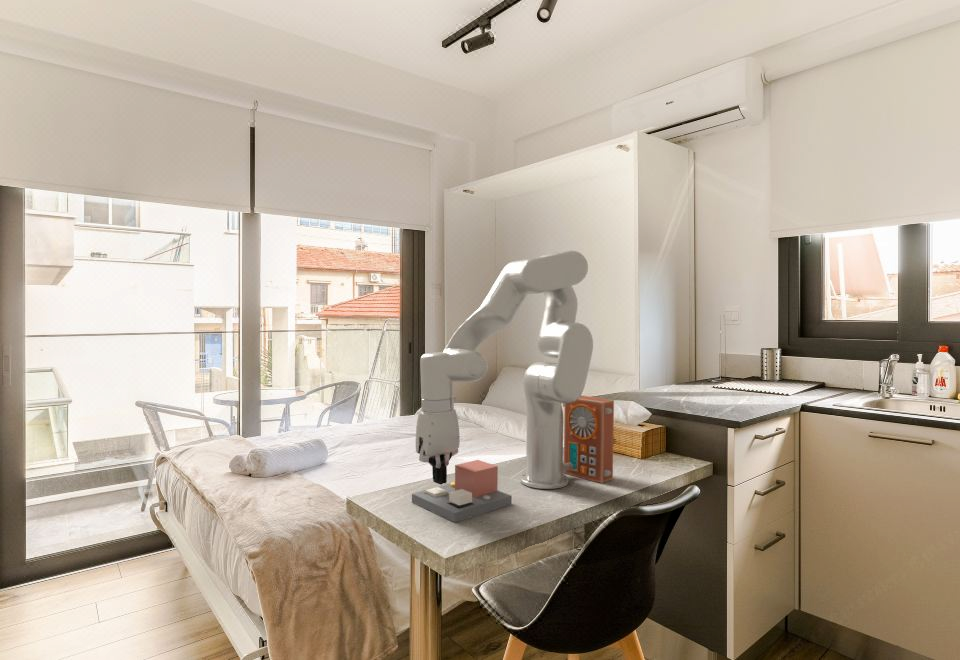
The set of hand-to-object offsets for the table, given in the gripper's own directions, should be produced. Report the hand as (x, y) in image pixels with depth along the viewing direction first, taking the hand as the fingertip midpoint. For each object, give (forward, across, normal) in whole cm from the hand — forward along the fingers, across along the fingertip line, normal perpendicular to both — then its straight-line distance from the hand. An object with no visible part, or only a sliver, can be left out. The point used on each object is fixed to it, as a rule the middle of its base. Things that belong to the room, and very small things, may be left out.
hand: (439, 482), depth 128 cm
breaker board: (+5, -3, +4) cm, 7 cm away
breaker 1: (+4, +1, 0) cm, 4 cm away
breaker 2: (+2, +1, +9) cm, 9 cm away
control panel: (+6, -42, +11) cm, 44 cm away
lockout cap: (+3, -8, +4) cm, 9 cm away
